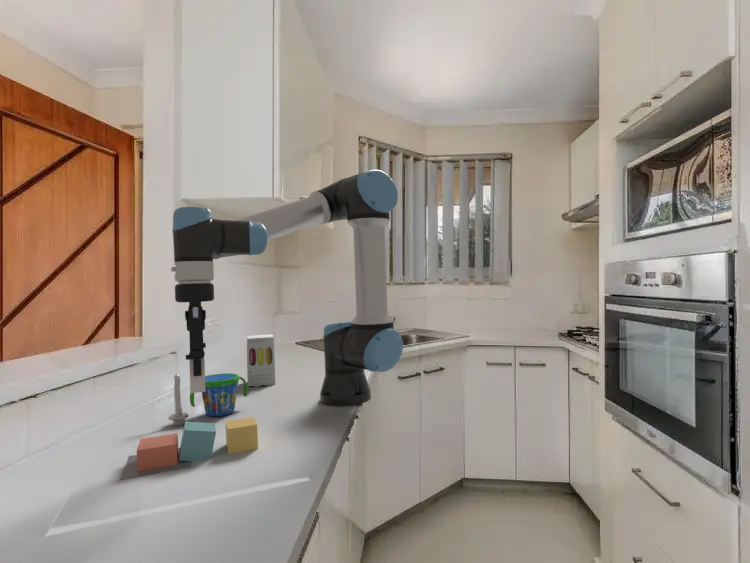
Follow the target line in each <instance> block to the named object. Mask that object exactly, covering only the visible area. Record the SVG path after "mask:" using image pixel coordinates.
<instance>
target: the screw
mask: <svg viewBox="0 0 750 563" xmlns="http://www.w3.org/2000/svg"><path fill="white" fill-rule="evenodd" d="M173 380H174V384H173V385H174V386H173V388H174V389H173V392H174V393H173V395H174V398H173V400H174V413H172V414H170V415H169V416H168V420H169V421H172V424H173V426H175V427H179V426H184V425H185V422H186V419H187V418H189V417H190V415H189V413H187V412H183V400H182V399H183V398H182V397H183V396H182V384H181V376H180V375H179V374H175V375H174V378H173Z"/></svg>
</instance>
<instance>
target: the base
mask: <svg viewBox="0 0 750 563" xmlns="http://www.w3.org/2000/svg"><path fill="white" fill-rule="evenodd" d="M179 452H180V447H179V433H176V432H175V433H170V434H163V435H157V436H150V437H143V438H140V439H139V443H138V445H137V448H136V454H135V455H129V456H128V458H127V462H126V464H125V466H124V467H125V468H124V470H123V472H122V475H121V478H120V480H121V481H123V480H128V479H133V478H139V477H145V476H151V475H156V474H161V473H166V472H167V473H168V472H173V471H179V470H184V469H189V468H190V469H191V468H192V461H179Z"/></svg>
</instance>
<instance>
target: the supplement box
mask: <svg viewBox="0 0 750 563" xmlns="http://www.w3.org/2000/svg"><path fill="white" fill-rule="evenodd" d="M275 362H276V360H275V337H274V335H273V334H271V333H270V334H256V335H255V334H254V335H253V334H252V335H247V336H246V367H247V368H246V371H247V374H246V376H247V387H248V388H250V387H249V386H255V387H262V386H261V385H266V386H275V385H276V365H275V364H276V363H275Z"/></svg>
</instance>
